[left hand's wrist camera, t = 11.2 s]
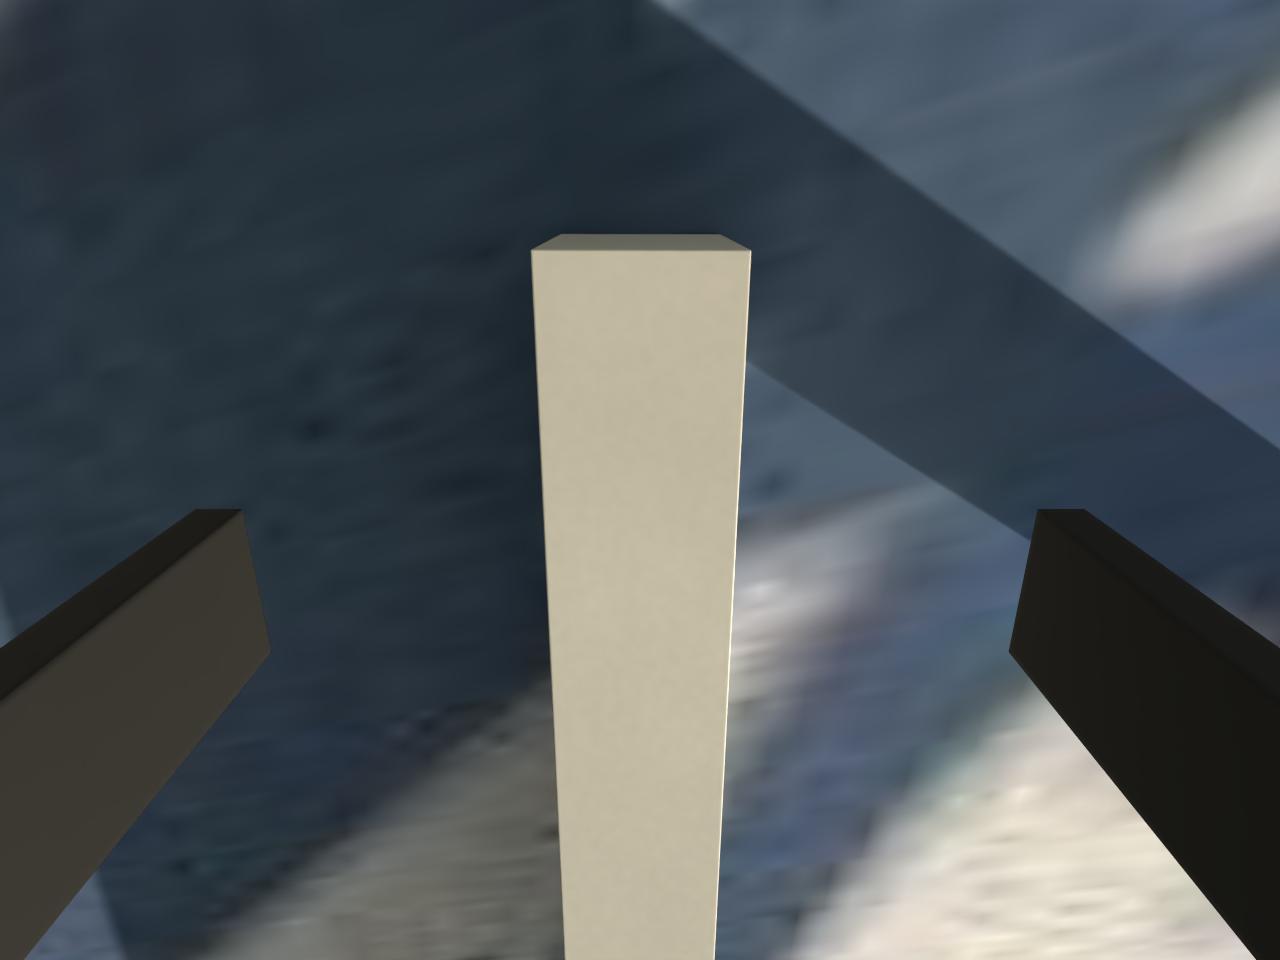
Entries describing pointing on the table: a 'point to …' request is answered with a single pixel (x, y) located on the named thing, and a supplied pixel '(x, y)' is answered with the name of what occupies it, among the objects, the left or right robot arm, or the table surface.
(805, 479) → the table surface
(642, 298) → the beam
